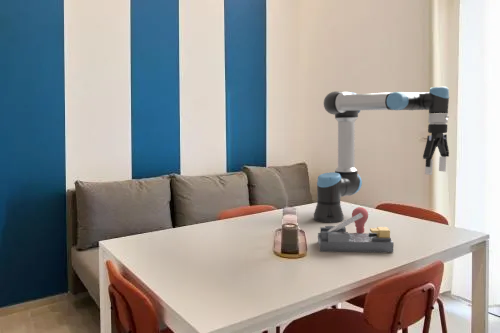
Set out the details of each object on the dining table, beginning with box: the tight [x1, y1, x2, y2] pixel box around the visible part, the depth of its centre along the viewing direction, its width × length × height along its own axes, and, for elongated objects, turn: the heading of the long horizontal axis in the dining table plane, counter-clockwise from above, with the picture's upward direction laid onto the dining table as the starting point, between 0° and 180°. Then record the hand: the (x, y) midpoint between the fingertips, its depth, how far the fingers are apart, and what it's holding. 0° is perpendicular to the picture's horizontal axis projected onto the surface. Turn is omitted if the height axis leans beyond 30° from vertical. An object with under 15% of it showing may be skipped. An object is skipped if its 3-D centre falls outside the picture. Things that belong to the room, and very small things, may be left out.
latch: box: [369, 226, 391, 238], centre depth 166 cm, size 7×5×4 cm
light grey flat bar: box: [328, 213, 363, 232], centre depth 167 cm, size 18×3×1 cm
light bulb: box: [351, 206, 369, 234], centre depth 186 cm, size 7×7×12 cm
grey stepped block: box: [317, 225, 394, 253], centre depth 168 cm, size 28×12×7 cm, turn 85°
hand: (435, 172), depth 181 cm, fingers open, 13 cm apart
